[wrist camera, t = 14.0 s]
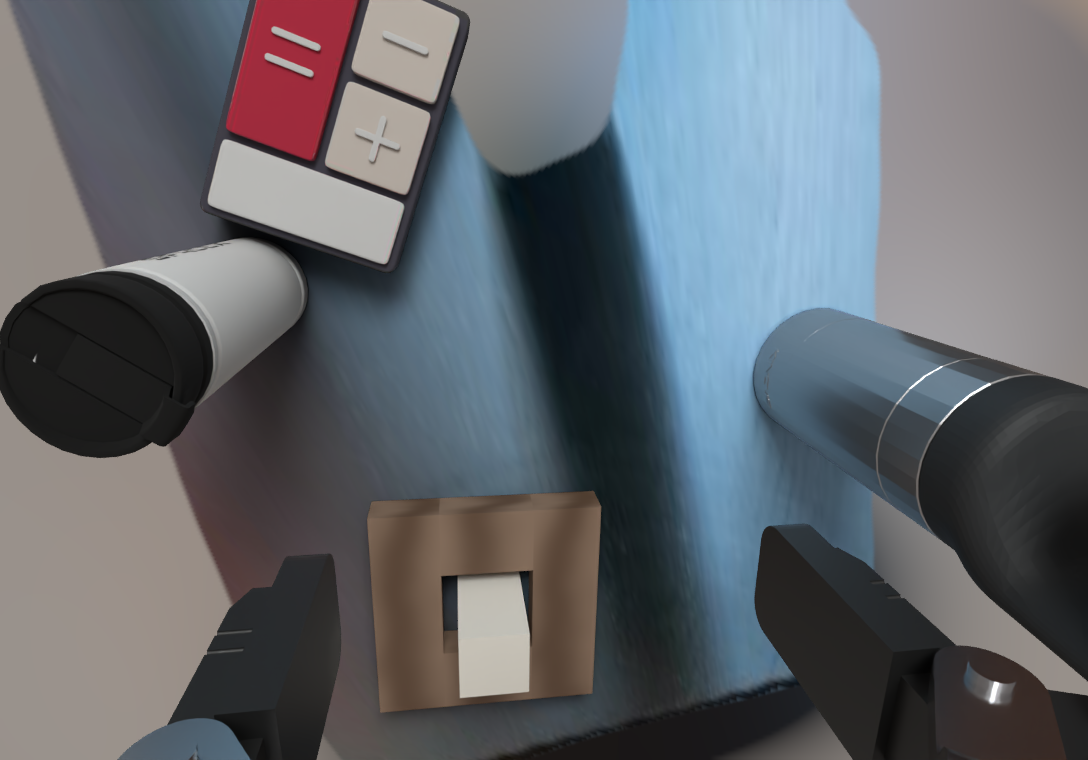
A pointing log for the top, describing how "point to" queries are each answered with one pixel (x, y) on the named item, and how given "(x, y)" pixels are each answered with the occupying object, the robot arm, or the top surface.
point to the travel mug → (143, 342)
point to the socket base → (474, 548)
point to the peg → (492, 635)
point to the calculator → (334, 121)
